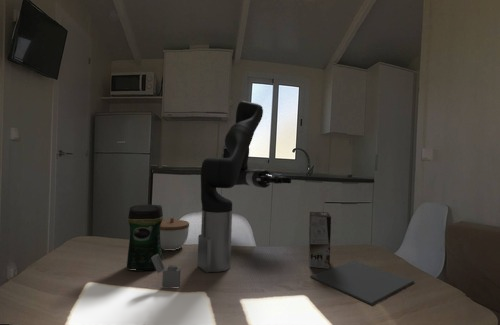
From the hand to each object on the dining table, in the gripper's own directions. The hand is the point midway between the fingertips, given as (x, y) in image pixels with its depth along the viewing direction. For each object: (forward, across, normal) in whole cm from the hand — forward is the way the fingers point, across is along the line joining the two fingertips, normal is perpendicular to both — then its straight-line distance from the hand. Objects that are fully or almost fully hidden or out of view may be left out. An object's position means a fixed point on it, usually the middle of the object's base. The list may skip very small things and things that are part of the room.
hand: (286, 180), depth 99 cm
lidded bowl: (-24, -35, +26) cm, 50 cm away
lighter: (+6, -47, +26) cm, 54 cm away
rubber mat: (+31, 0, +26) cm, 41 cm away
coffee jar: (-10, -48, +26) cm, 56 cm away
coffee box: (+16, 0, +26) cm, 31 cm away
